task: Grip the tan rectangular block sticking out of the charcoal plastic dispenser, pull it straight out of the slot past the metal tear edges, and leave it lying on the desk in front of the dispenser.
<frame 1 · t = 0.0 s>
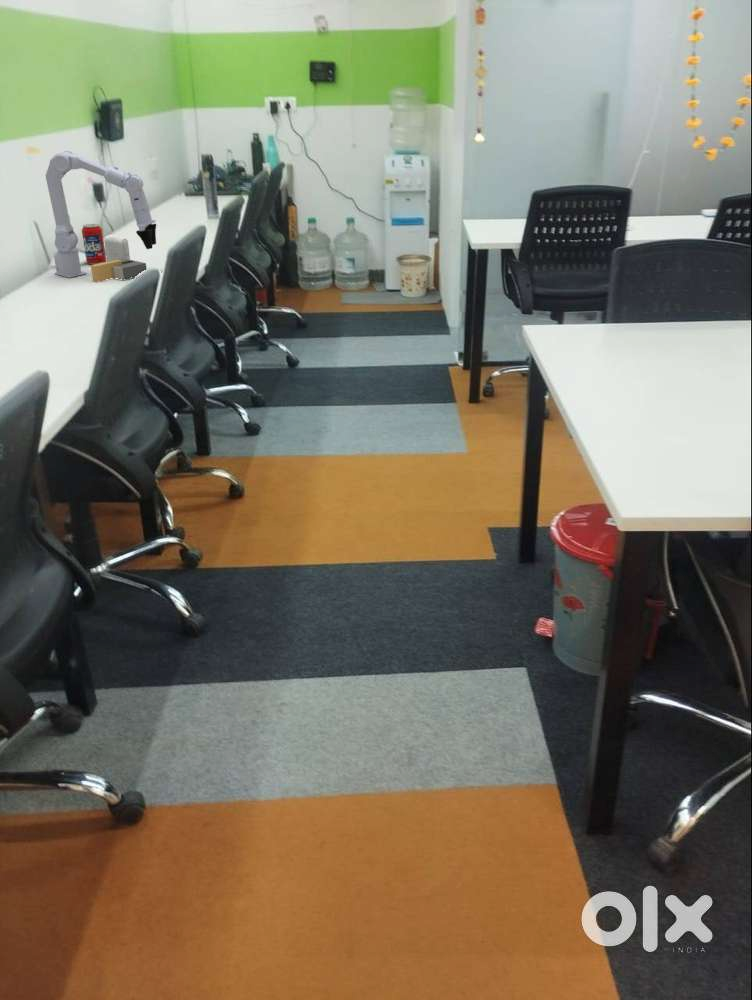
hand: (151, 246, 321), 11 cm above the table, tool pointing down, fingers open, 7 cm apart
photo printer: (119, 267, 337), on the table
tan rectangular block: (108, 279, 320), on the table
soda can: (96, 263, 342), on the table
ticket dispenser: (124, 274, 325), on the table
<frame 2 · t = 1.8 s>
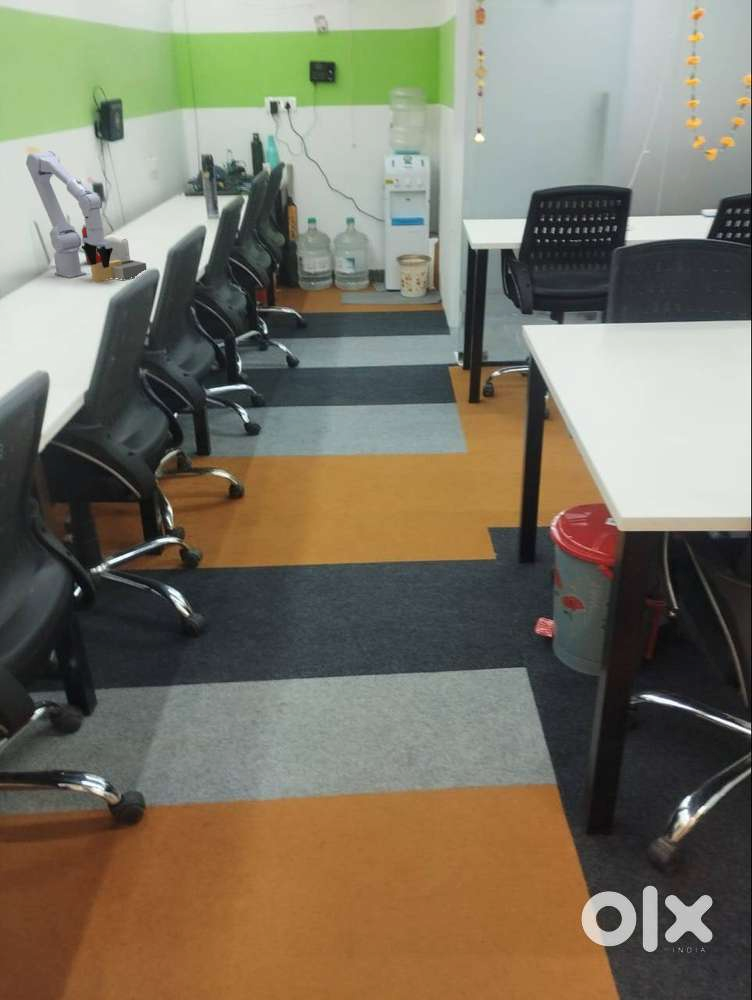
hand: (99, 265, 315), 5 cm above the table, tool pointing down, fingers open, 7 cm apart
nothing on the table moved.
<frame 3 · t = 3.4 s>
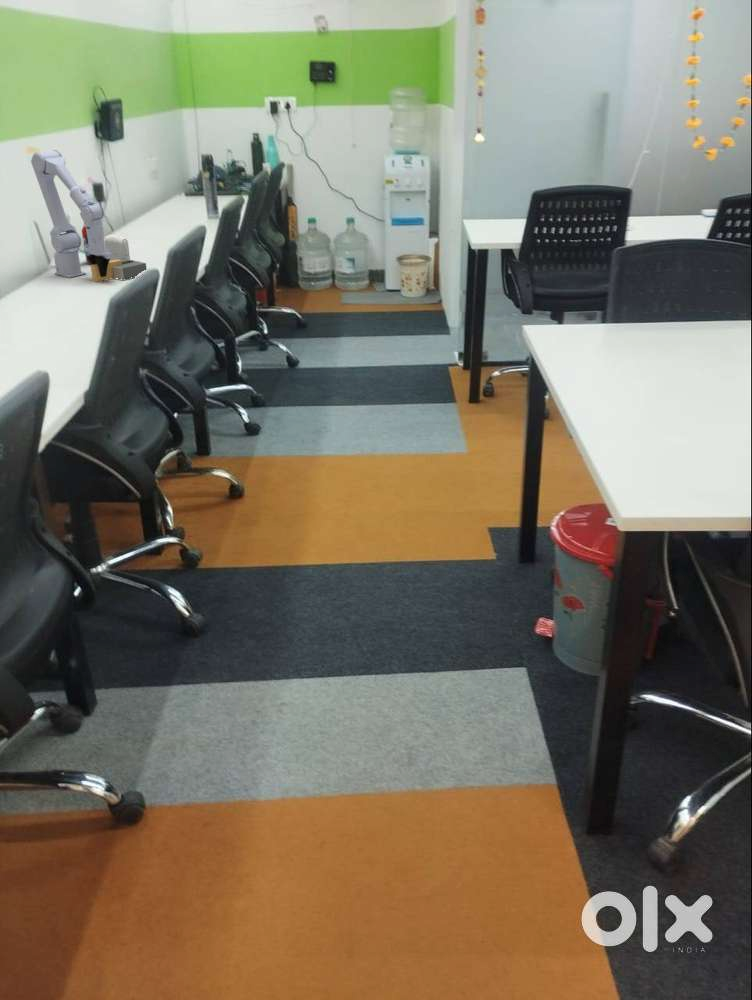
hand: (101, 275, 317), 2 cm above the table, tool pointing down, fingers closed on tan rectangular block, 2 cm apart
tan rectangular block: (108, 278, 319), on the table, touching gripper
everything else where it was.
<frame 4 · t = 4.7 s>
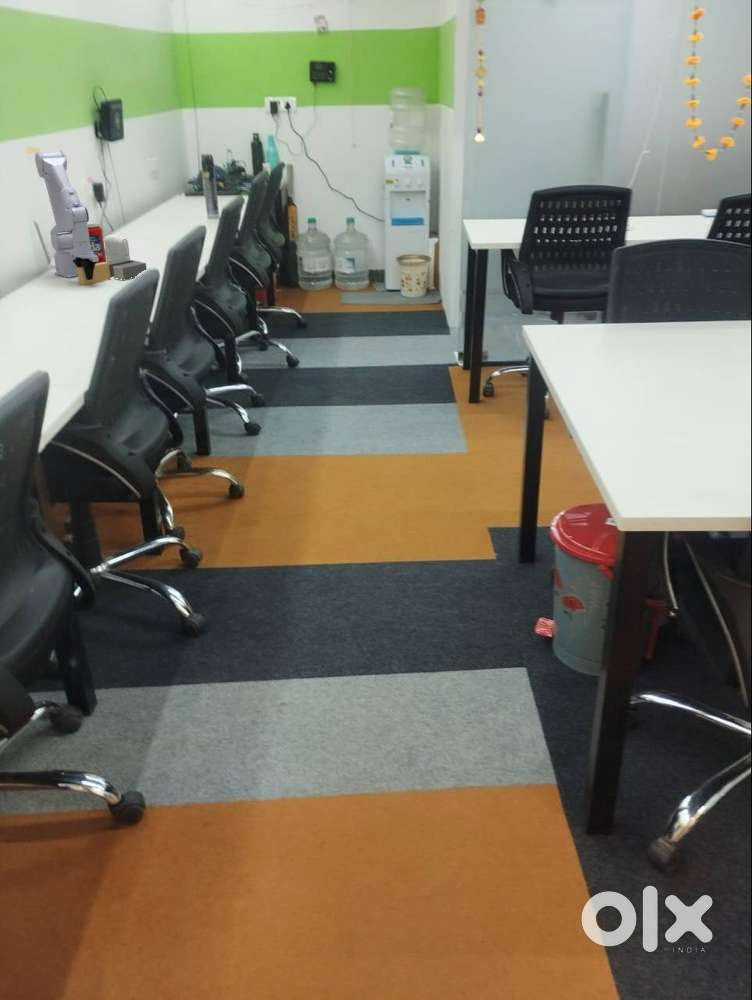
hand: (87, 278, 312), 2 cm above the table, tool pointing down, fingers closed on tan rectangular block, 2 cm apart
tan rectangular block: (95, 281, 315), on the table, touching gripper
everything else where it was.
when the fingers open (2 cm above the table, at t = 6.3 s): tan rectangular block stays where it is, on the table.
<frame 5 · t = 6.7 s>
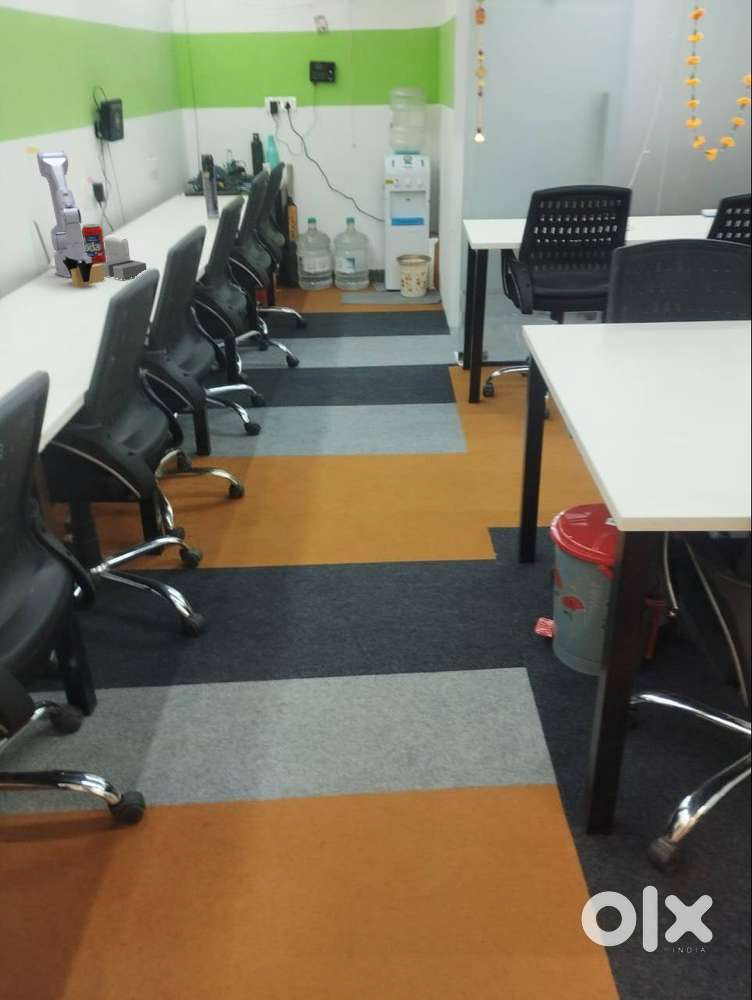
hand: (80, 280, 310), 2 cm above the table, tool pointing down, fingers open, 6 cm apart
tan rectangular block: (89, 283, 314), on the table
everything else where it was.
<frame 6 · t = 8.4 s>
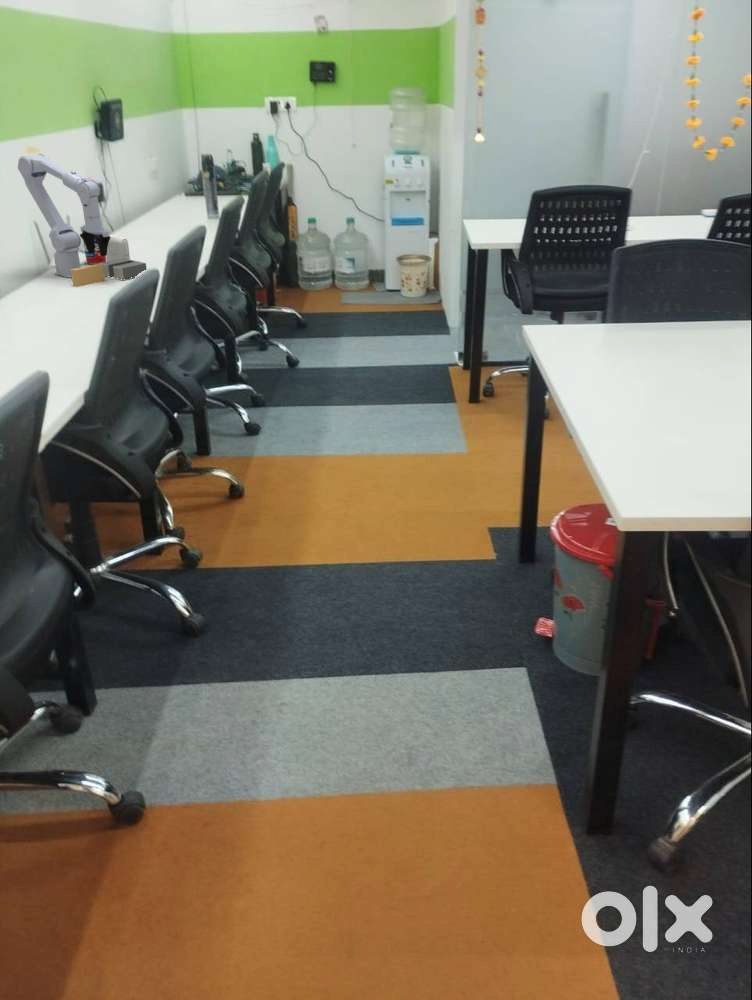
hand: (97, 254, 315), 9 cm above the table, tool pointing down, fingers open, 7 cm apart
nothing on the table moved.
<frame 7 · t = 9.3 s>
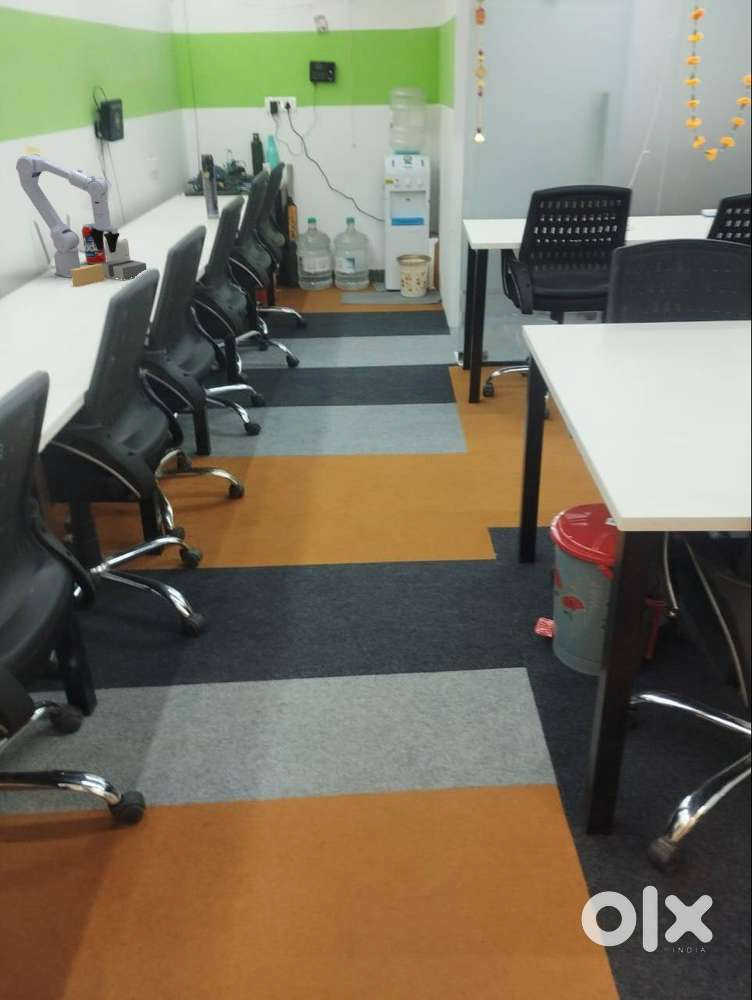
hand: (106, 250, 319), 9 cm above the table, tool pointing down, fingers open, 7 cm apart
nothing on the table moved.
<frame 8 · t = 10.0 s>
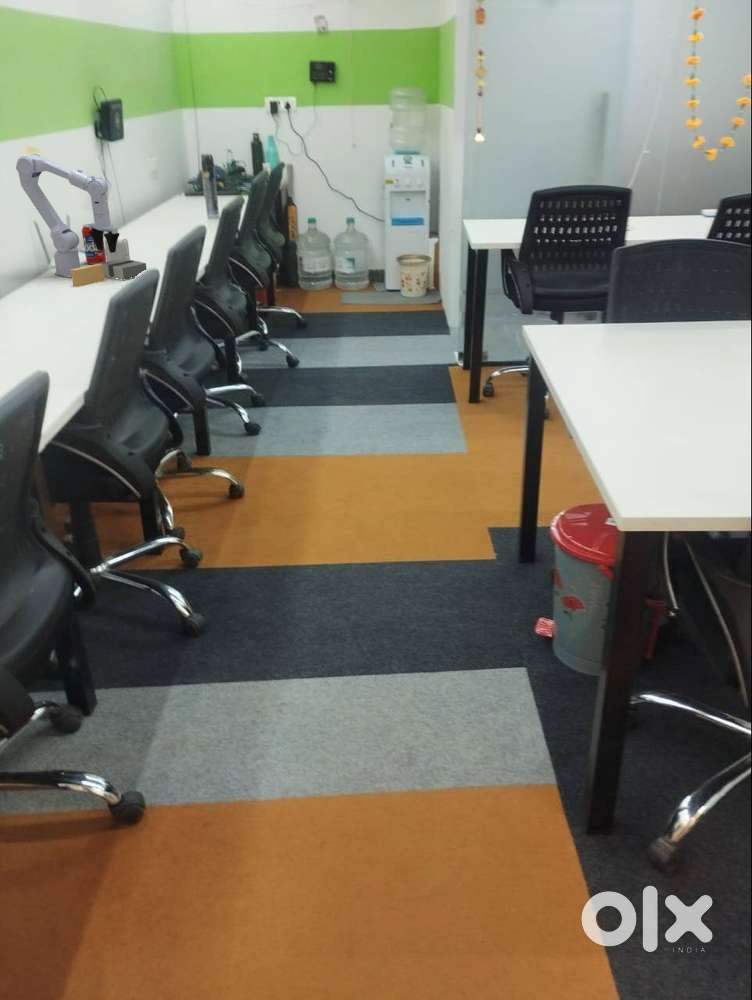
hand: (106, 250, 319), 9 cm above the table, tool pointing down, fingers open, 7 cm apart
nothing on the table moved.
at the end: tan rectangular block inside the target area on the table beside the ticket dispenser (0.9 cm from its centre), on the table; tan rectangular block moved 8.6 cm from its start; the gripper is holding nothing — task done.
